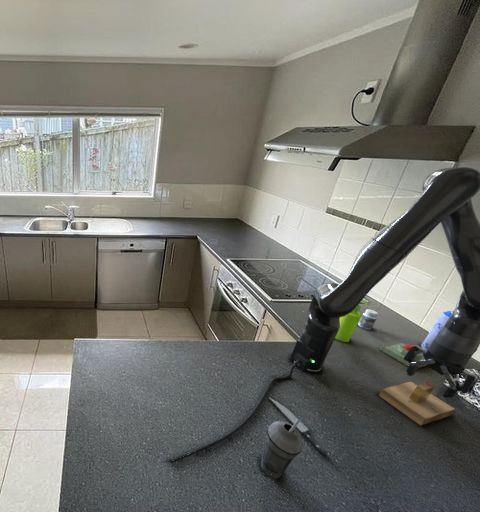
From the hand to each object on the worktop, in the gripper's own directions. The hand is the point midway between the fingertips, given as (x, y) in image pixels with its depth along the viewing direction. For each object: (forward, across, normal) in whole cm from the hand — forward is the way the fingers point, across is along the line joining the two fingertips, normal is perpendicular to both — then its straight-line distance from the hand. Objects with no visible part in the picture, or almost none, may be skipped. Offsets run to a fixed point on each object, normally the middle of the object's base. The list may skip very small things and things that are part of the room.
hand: (427, 385), depth 88 cm
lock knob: (+6, 0, 0) cm, 6 cm away
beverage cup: (+8, +4, -62) cm, 63 cm away
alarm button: (+5, -16, +26) cm, 31 cm away
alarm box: (+9, -16, +26) cm, 32 cm away
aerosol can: (+9, -16, +43) cm, 46 cm away
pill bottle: (+9, -35, +32) cm, 48 cm away
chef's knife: (+8, -4, -44) cm, 45 cm away
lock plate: (+9, 0, 0) cm, 9 cm away
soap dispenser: (+9, -31, +12) cm, 34 cm away
